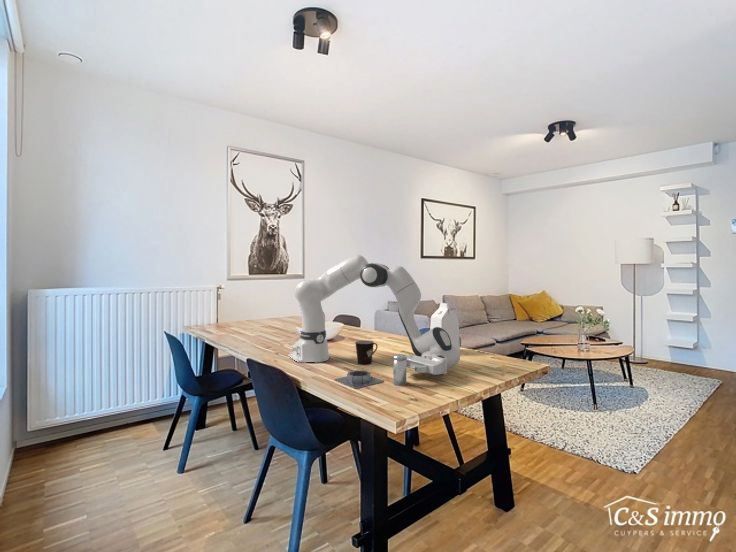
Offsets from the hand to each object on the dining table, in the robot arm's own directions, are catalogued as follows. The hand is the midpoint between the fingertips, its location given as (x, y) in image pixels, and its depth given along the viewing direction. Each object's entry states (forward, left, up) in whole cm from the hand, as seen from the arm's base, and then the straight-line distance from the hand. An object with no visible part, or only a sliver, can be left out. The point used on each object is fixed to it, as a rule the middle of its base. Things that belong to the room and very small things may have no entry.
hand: (407, 367), depth 153 cm
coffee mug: (-33, +7, -6) cm, 34 cm away
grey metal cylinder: (0, -4, -6) cm, 7 cm away
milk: (-25, +53, -6) cm, 59 cm away
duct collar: (-13, -14, -6) cm, 20 cm away
